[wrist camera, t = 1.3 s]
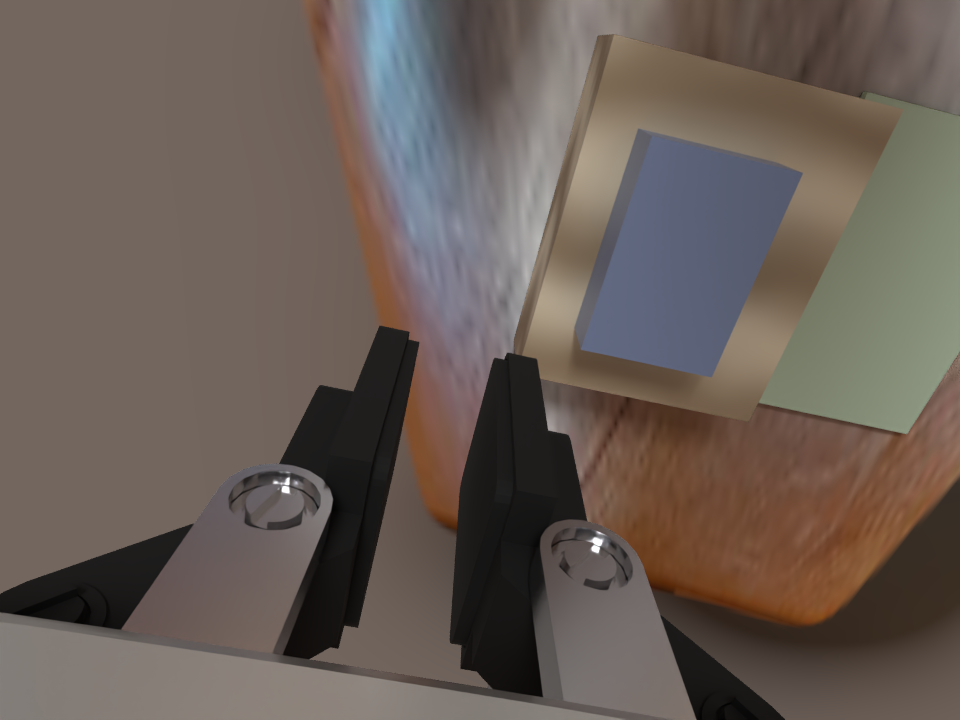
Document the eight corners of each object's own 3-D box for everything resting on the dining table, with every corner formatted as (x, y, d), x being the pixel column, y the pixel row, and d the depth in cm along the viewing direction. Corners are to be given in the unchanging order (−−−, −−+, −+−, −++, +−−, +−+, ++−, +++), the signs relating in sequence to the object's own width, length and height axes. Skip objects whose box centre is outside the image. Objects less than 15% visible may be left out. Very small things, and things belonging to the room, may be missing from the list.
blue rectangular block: (638, 128, 25) (652, 135, 23) (776, 162, 26) (802, 173, 24) (574, 327, 29) (580, 349, 27) (695, 353, 30) (711, 377, 28)
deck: (598, 35, 27) (614, 34, 24) (851, 101, 28) (903, 109, 25) (514, 339, 34) (516, 374, 30) (722, 383, 35) (748, 422, 31)
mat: (863, 91, 28) (867, 92, 28) (1081, 148, 29) (1088, 149, 29) (723, 392, 35) (726, 396, 35) (902, 430, 36) (906, 434, 36)
